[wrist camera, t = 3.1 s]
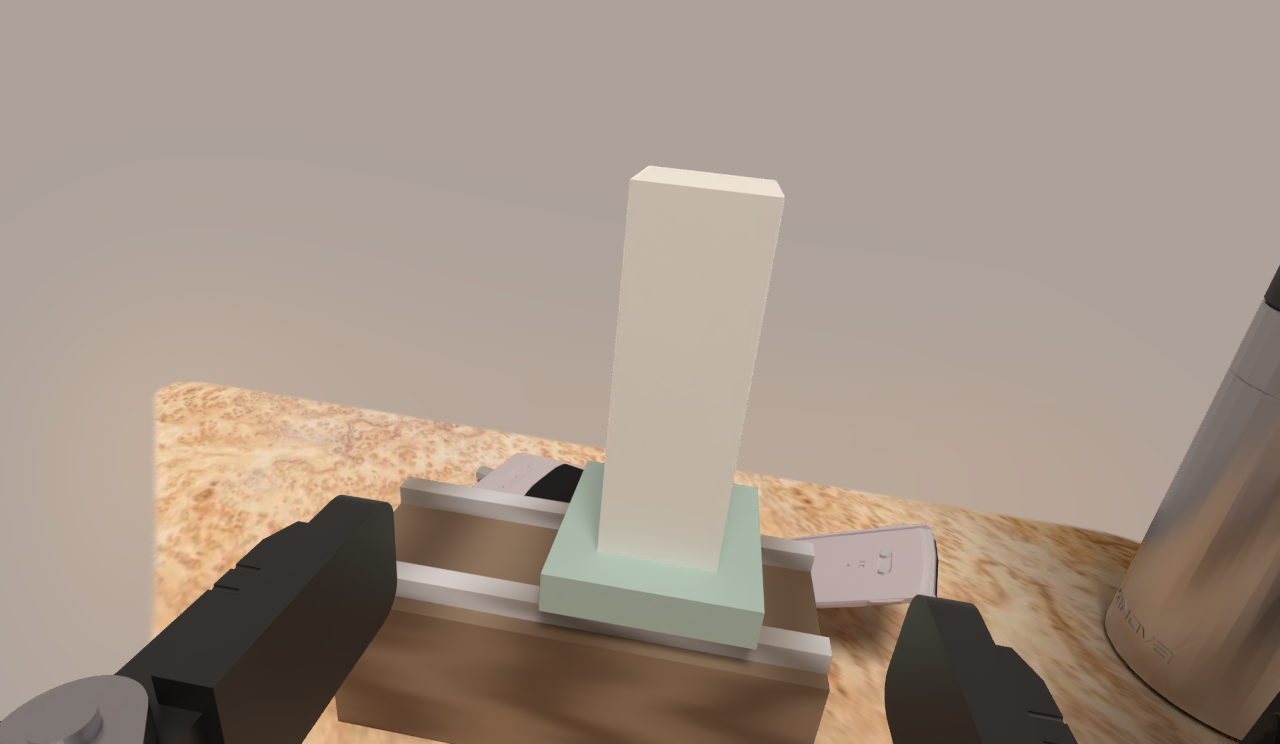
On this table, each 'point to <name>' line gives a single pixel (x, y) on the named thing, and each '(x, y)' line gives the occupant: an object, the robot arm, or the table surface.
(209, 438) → the table surface
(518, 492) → the mobile phone
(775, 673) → the walnut track
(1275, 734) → the portable radio
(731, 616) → the white pillar on base
